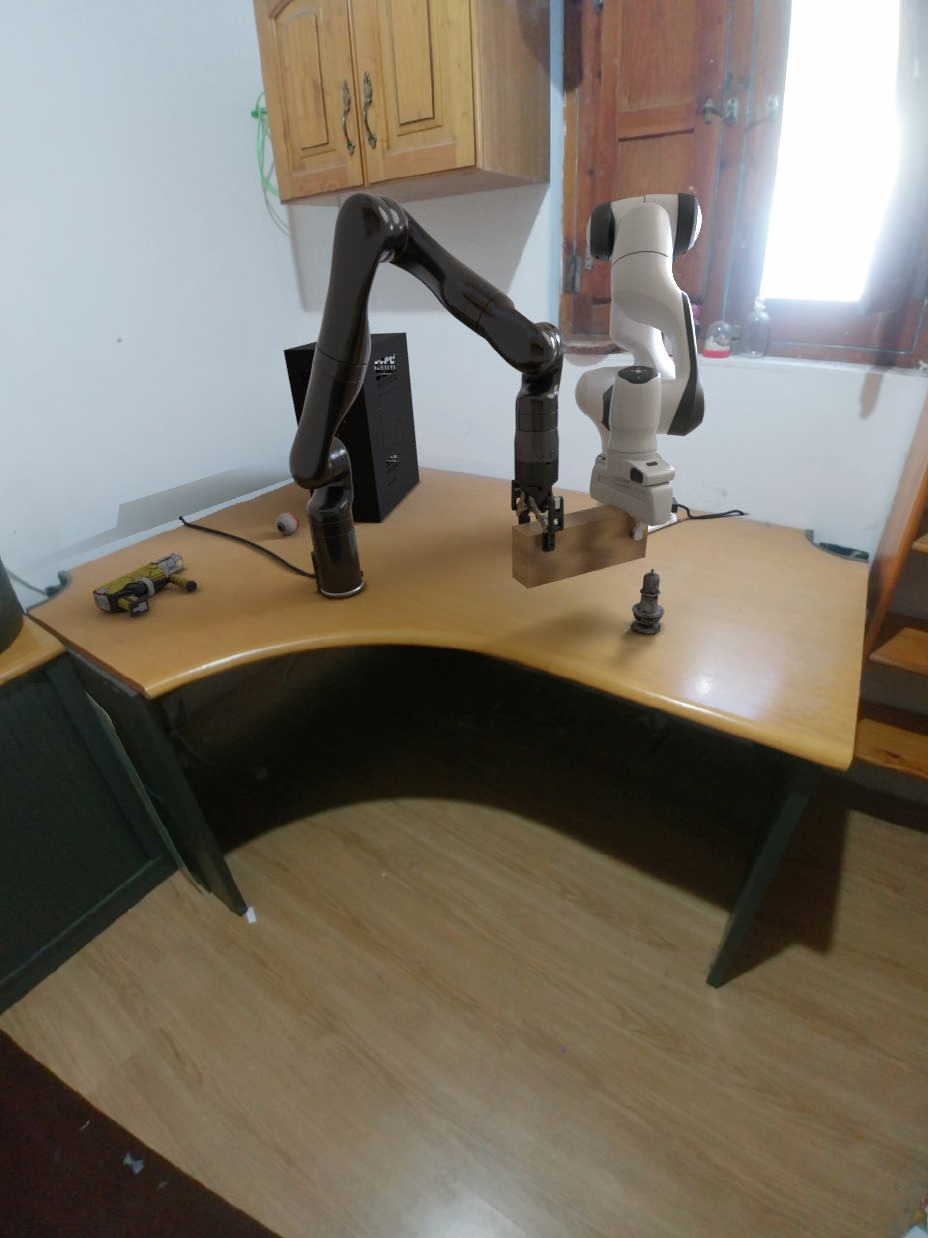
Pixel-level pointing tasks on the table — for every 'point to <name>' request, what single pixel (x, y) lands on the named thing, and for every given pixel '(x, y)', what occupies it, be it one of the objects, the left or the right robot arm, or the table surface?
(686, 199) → the right robot arm
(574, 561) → the box
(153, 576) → the toy gun
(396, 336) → the cardboard box
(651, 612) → the grey chess piece
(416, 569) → the table surface
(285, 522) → the eyeball
